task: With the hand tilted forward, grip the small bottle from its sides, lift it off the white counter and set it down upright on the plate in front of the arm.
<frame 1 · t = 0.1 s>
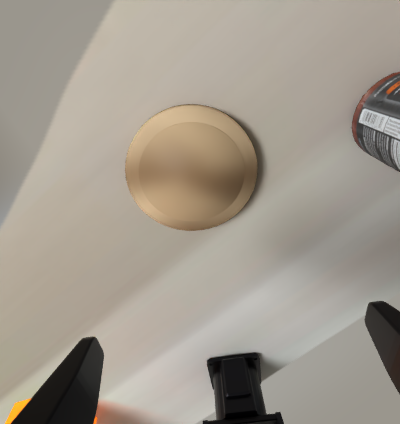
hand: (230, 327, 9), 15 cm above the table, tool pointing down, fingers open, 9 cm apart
orange juice: (58, 409, 39), on the table
plate: (191, 171, 22), on the table
supplement bottle: (387, 114, 20), on the table
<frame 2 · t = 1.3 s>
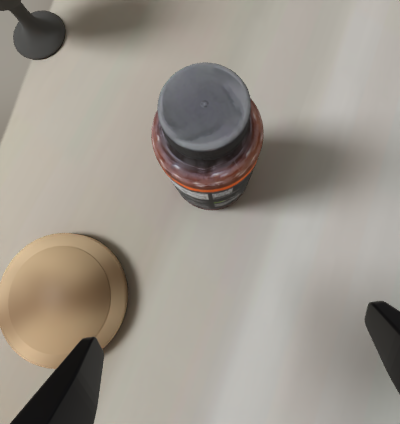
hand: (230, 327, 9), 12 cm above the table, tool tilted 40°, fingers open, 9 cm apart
sundae: (41, 37, 26), on the table
plate: (66, 296, 22), on the table
supplement bottle: (211, 176, 23), on the table
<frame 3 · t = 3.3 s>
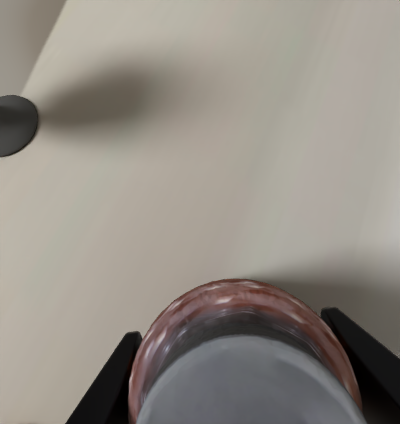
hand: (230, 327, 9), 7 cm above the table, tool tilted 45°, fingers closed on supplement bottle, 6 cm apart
sundae: (7, 127, 20), on the table
supplement bottle: (230, 335, 15), on the table, touching gripper
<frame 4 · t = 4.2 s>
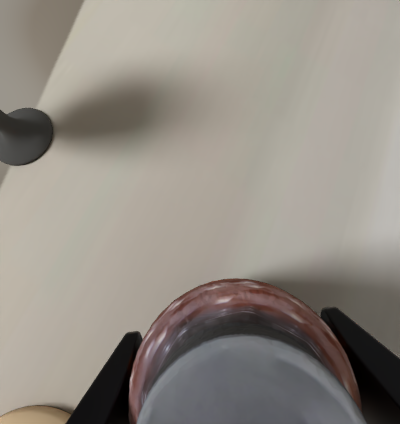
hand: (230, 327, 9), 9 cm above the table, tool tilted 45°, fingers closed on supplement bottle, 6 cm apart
sundae: (25, 137, 22), on the table
supplement bottle: (230, 334, 15), point 2 cm above the table, touching gripper
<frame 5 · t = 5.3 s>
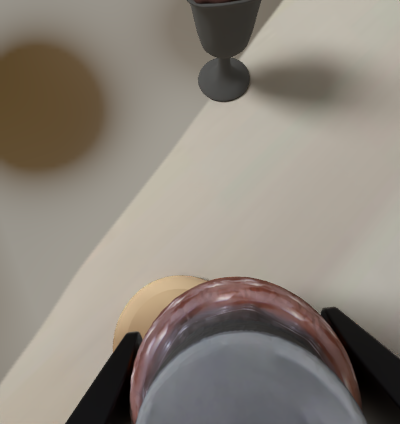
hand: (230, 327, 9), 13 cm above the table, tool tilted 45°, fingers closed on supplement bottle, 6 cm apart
sundae: (224, 80, 27), on the table
plate: (180, 341, 21), on the table
supplement bottle: (232, 333, 15), point 6 cm above the table, touching gripper
when the fingers open (8 cm above the table, at t = 6.9 s): supplement bottle stays where it is, resting on plate.
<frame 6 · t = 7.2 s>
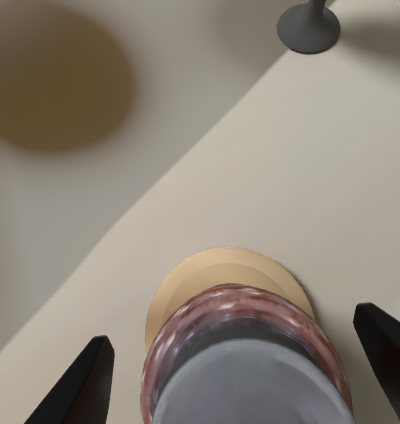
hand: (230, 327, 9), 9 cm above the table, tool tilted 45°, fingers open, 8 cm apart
sundae: (307, 31, 22), on the table
plate: (229, 329, 17), on the table
supplement bottle: (231, 335, 16), point 1 cm above the table, touching plate
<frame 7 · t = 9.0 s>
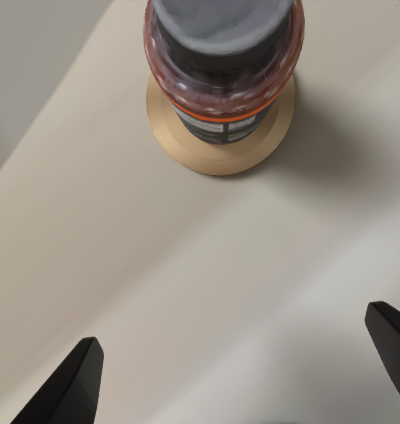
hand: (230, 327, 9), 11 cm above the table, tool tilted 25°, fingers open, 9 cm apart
plate: (219, 104, 19), on the table
supplement bottle: (221, 102, 18), point 1 cm above the table, touching plate
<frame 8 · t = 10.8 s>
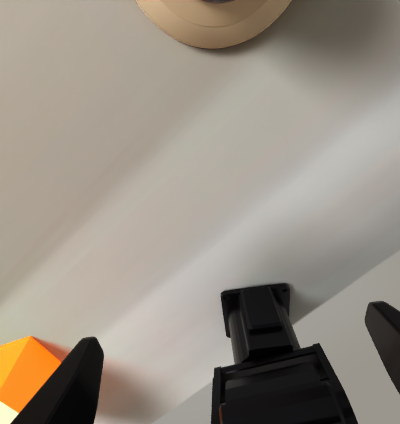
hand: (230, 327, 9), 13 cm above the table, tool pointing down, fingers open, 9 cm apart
orange juice: (29, 365, 31), on the table
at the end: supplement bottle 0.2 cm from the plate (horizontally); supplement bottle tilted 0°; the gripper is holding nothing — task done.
